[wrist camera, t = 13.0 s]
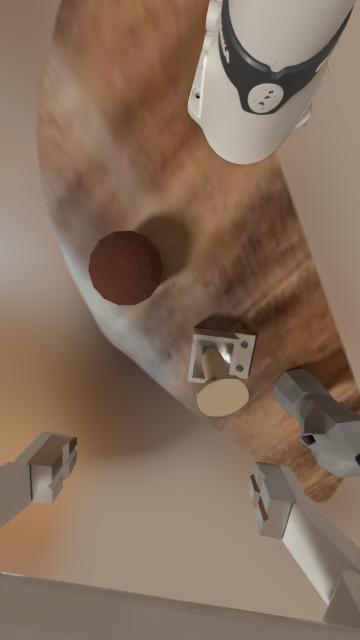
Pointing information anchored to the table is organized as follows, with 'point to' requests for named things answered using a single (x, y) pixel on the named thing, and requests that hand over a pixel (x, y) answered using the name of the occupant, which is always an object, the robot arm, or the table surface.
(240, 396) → the handle
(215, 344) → the flanged open box
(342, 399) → the table surface
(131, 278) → the muffin
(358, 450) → the coffeepot
